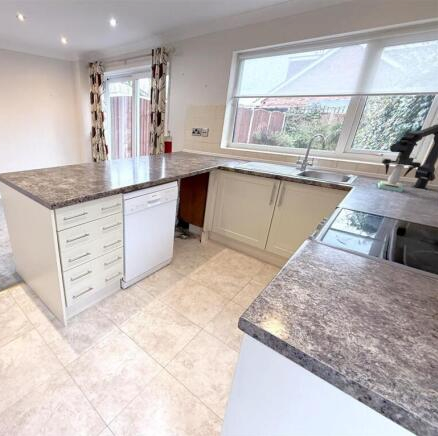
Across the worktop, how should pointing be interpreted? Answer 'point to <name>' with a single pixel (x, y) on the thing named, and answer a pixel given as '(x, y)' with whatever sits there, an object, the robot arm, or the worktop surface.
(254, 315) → the worktop surface
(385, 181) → the scale platform
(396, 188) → the scale
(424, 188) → the robot arm
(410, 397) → the worktop surface
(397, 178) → the salt shaker
